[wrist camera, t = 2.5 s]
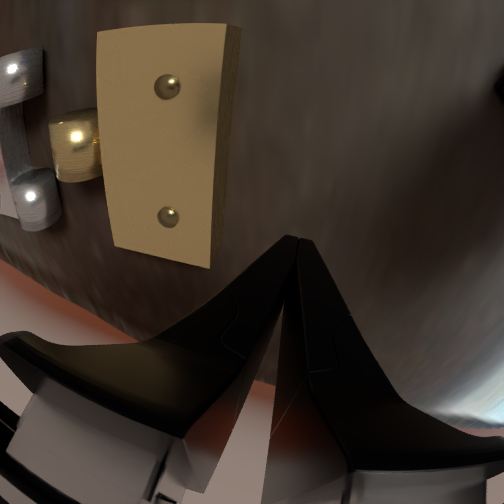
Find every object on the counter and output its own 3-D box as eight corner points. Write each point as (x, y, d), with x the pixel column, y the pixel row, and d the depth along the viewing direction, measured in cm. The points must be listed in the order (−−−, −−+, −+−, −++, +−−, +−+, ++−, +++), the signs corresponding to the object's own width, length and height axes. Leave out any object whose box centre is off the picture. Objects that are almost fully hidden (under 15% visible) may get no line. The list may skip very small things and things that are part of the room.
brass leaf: (75, 39, 13) (30, 46, 10) (242, 28, 12) (219, 22, 9) (90, 213, 21) (60, 242, 18) (222, 240, 20) (204, 280, 17)
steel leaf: (-18, 67, 14) (-51, 80, 11) (53, 43, 13) (10, 53, 10) (2, 193, 22) (-24, 214, 19) (71, 208, 21) (40, 235, 18)
